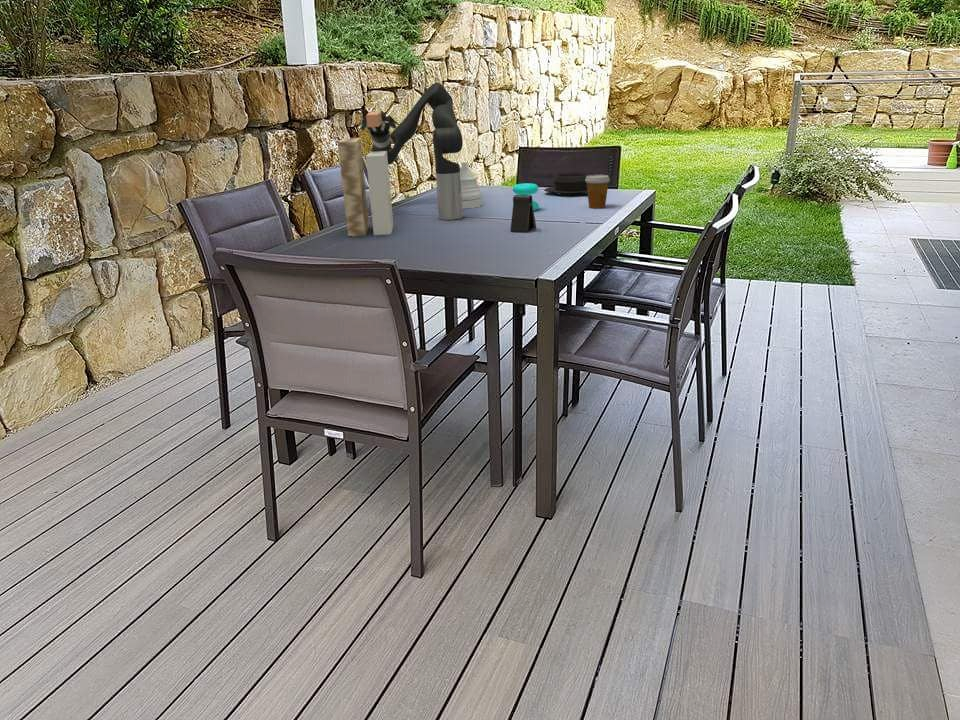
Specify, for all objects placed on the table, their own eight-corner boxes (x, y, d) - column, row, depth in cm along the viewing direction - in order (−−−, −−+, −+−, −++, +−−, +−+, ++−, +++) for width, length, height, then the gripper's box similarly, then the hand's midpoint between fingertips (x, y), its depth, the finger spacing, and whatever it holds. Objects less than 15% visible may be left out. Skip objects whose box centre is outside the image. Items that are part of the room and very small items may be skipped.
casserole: (605, 191, 331) (605, 171, 328) (594, 198, 315) (594, 177, 312) (551, 190, 340) (551, 171, 337) (538, 196, 325) (537, 177, 322)
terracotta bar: (382, 122, 282) (381, 111, 281) (378, 126, 260) (377, 114, 258) (372, 122, 282) (371, 111, 280) (367, 127, 260) (366, 115, 258)
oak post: (369, 226, 277) (360, 137, 266) (365, 235, 262) (355, 141, 251) (353, 227, 277) (343, 138, 266) (348, 236, 262) (337, 142, 251)
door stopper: (526, 233, 254) (525, 197, 250) (510, 232, 257) (509, 197, 253) (536, 227, 262) (535, 193, 258) (520, 227, 264) (519, 192, 260)
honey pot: (481, 208, 304) (479, 163, 297) (450, 209, 304) (447, 164, 298) (482, 203, 316) (480, 159, 309) (452, 204, 316) (449, 160, 310)
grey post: (393, 225, 278) (386, 150, 268) (390, 234, 263) (383, 155, 253) (377, 226, 277) (370, 151, 268) (373, 235, 263) (366, 156, 253)
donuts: (540, 182, 295) (535, 186, 286) (540, 208, 298) (536, 212, 289) (515, 182, 297) (510, 186, 288) (516, 208, 301) (511, 212, 292)
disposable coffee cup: (608, 204, 298) (609, 174, 294) (610, 209, 289) (610, 177, 285) (584, 205, 299) (584, 175, 295) (585, 209, 290) (585, 178, 286)
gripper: (399, 142, 293) (395, 122, 276) (362, 144, 292) (357, 124, 275) (398, 124, 294) (394, 103, 277) (361, 126, 293) (356, 105, 276)
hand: (375, 113), depth 276 cm, fingers closed on terracotta bar, 4 cm apart
